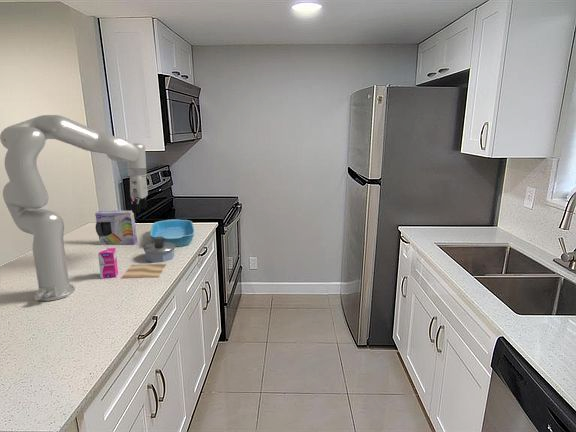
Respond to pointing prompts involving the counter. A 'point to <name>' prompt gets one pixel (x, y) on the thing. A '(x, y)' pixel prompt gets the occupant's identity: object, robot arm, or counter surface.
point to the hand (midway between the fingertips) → (139, 210)
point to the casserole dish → (173, 231)
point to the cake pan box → (116, 227)
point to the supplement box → (108, 263)
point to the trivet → (144, 271)
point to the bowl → (159, 256)
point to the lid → (159, 246)
